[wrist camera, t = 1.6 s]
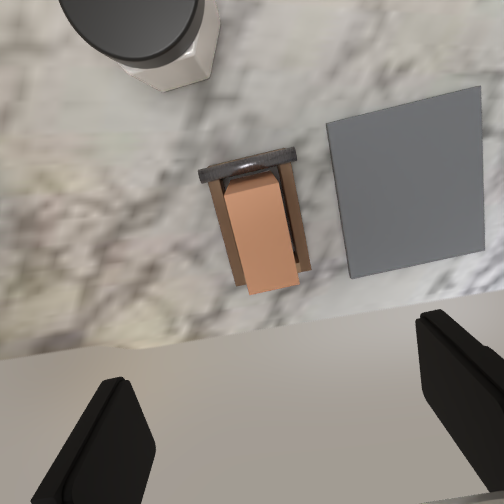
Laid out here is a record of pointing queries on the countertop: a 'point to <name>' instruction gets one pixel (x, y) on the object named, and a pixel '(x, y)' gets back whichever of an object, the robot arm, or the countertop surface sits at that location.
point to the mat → (410, 182)
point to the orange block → (261, 232)
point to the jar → (151, 36)
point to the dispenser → (283, 162)
